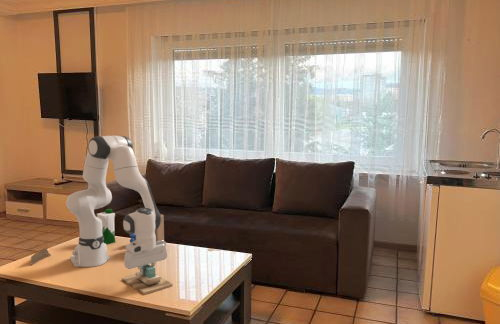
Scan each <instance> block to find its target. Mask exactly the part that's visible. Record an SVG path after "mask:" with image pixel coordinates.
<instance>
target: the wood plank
mask: <svg viewBox="0 0 500 324" xmlns="http://www.w3.org/2000/svg"><path fill="white" fill-rule="evenodd" d="M48 257H51V253H50V252H49V250H48V247H47V246H46V247H45V248H43V249H40V250H39V251H37V252H35V253H34V254H33V255H31V257H30V266H33V265H34V264H36V263H38V262H39V261H42V260H44V259H46V258H48Z"/></svg>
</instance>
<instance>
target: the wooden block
mask: <svg viewBox="0 0 500 324" xmlns="http://www.w3.org/2000/svg"><path fill="white" fill-rule="evenodd" d="M160 215H161V218H162V222H161V225H160V226H159V228H158V229H157V230H155V236H156V241H160V240H163V241H165V224H164V222H165V219H164V214H161V213H160Z"/></svg>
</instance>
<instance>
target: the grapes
mask: <svg viewBox="0 0 500 324" xmlns="http://www.w3.org/2000/svg"><path fill="white" fill-rule="evenodd" d="M129 237H130V239H129V244H130V243H131V242H133V241H135V240H136V234H129Z"/></svg>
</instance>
